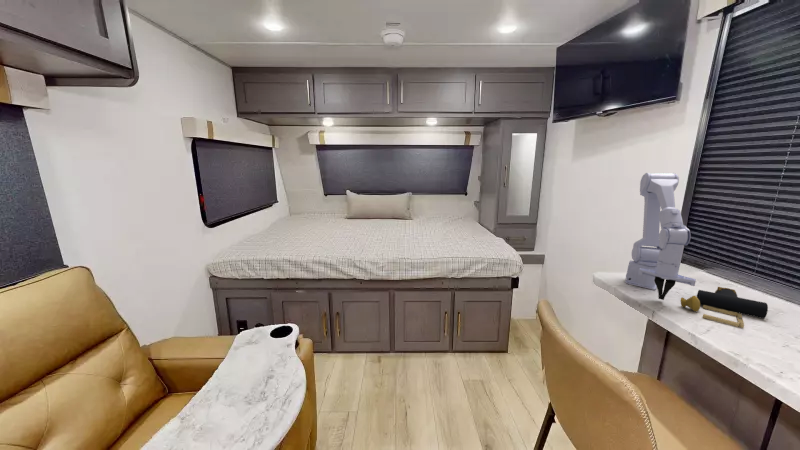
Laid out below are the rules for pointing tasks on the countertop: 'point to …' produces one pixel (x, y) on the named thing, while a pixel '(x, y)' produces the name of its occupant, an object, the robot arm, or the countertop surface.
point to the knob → (691, 303)
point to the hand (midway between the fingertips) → (661, 298)
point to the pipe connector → (732, 302)
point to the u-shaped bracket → (737, 324)
